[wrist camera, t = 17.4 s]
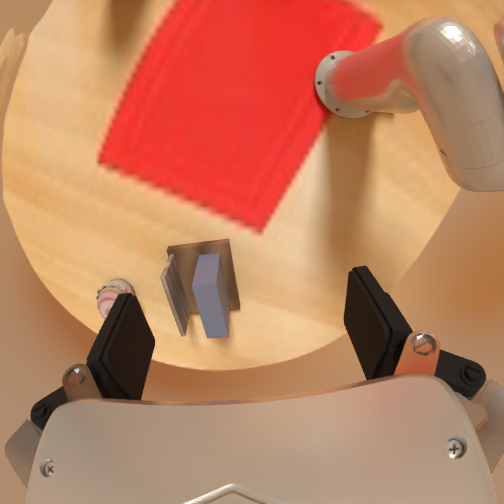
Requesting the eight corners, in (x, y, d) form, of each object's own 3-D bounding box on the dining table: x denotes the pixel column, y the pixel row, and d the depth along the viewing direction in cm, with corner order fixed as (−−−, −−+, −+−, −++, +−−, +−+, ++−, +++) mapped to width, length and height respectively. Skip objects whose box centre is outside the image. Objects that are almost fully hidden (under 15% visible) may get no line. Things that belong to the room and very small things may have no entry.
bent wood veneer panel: (228, 238, 52) (227, 265, 44) (240, 304, 60) (240, 335, 52) (168, 246, 53) (156, 273, 44) (187, 309, 60) (180, 339, 52)
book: (219, 252, 52) (216, 283, 43) (229, 302, 58) (228, 336, 49) (199, 255, 52) (191, 286, 43) (210, 304, 58) (207, 338, 49)
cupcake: (148, 288, 57) (135, 319, 49) (129, 311, 60) (117, 341, 52) (113, 264, 54) (95, 291, 45) (98, 289, 57) (81, 317, 48)
